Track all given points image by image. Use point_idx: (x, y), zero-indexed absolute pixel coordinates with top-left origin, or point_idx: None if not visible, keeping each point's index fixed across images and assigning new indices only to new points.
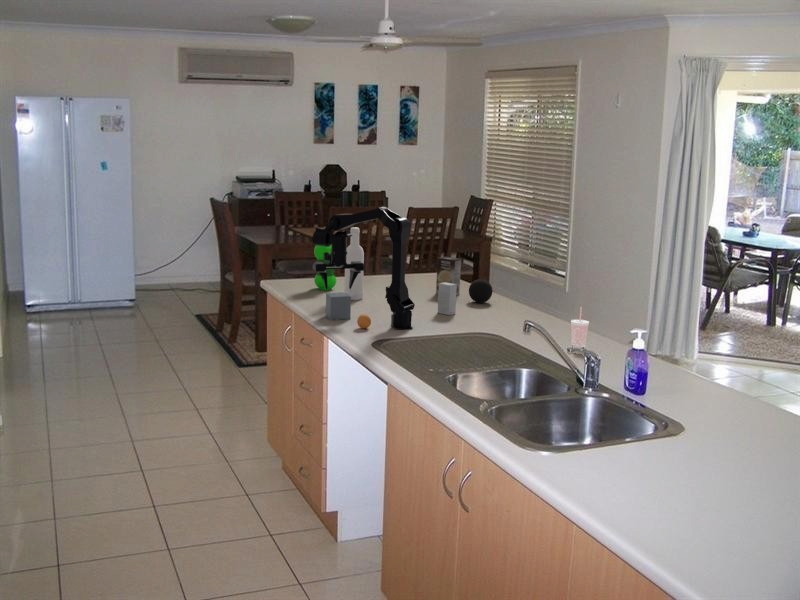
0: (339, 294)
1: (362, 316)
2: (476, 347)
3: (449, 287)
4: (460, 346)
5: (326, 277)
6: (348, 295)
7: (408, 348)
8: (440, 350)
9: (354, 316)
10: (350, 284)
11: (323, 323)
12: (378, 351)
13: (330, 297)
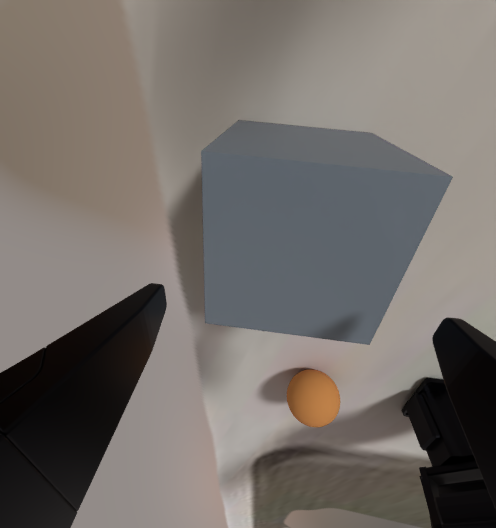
0: (315, 261)
1: (303, 423)
2: None
3: None
4: (426, 506)
5: (68, 505)
6: (372, 315)
7: (316, 487)
8: (366, 505)
9: None
10: (453, 401)
11: (187, 281)
12: (250, 481)
13: (206, 312)
